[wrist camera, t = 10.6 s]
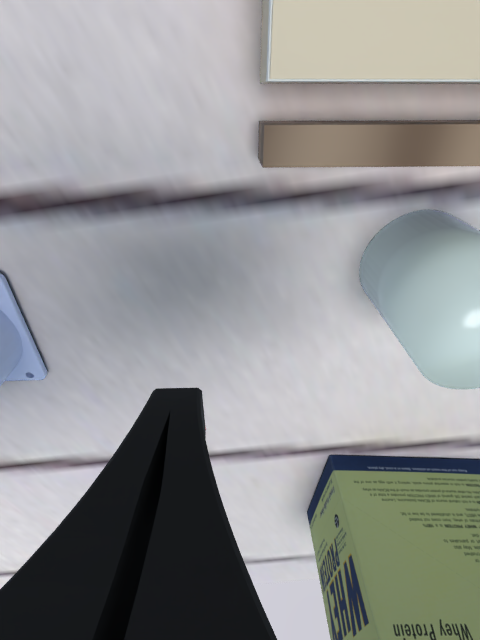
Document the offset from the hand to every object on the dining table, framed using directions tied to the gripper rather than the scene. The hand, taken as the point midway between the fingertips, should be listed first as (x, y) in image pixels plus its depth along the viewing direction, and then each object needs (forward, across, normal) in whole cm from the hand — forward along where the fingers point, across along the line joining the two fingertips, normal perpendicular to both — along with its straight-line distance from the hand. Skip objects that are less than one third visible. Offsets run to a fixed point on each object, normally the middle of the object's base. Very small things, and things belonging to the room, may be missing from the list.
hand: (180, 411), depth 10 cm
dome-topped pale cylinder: (+10, -12, 0) cm, 16 cm away
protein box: (+11, -17, +24) cm, 31 cm away
